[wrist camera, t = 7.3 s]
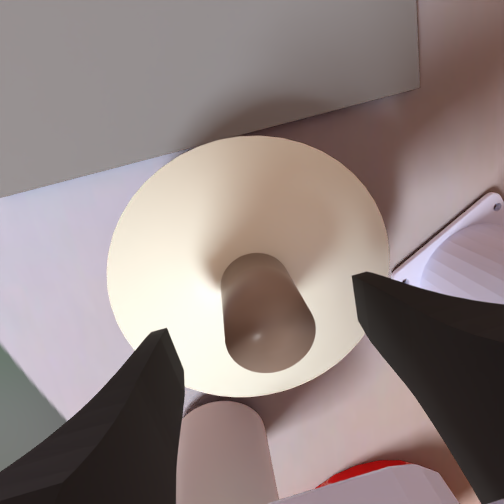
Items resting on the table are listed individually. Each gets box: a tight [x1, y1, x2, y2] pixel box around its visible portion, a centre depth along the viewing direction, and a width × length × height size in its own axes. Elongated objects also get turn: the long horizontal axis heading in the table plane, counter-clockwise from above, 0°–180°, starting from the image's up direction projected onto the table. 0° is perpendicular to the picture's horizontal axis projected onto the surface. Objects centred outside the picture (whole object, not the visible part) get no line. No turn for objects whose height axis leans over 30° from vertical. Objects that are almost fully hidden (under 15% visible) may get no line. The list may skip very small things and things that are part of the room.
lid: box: [107, 136, 390, 397], centre depth 14 cm, size 13×13×5 cm
